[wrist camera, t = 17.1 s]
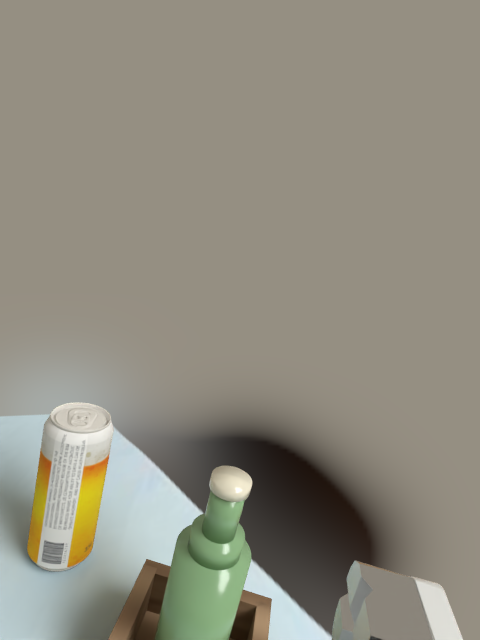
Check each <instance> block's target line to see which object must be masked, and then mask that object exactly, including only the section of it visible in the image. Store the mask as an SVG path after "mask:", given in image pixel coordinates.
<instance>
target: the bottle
mask: <svg viewBox="0 0 480 640" xmlns="http://www.w3.org/2000/svg"><path fill="white" fill-rule="evenodd" d="M209 486H210V489H211V492H210V496H209V500H208V504H207V508H206V512H205V514H202V515H200V516H198V517H197V518H196V519H195V520H194V521H193V524H192V525H190V526H188V527H186V528H185V529H184V530H183V531H182V532H181V533H180V534H179V536H178V538H177V542H176V546H175V551H174V555H173V559H172V564H171V568H170V572H169V577H168V581H167V585H166V590H165V594H164V599H163V603H162V607H161V612H160V616H159V620H158V625H157V629H156V633H155V638H154V640H229V637H230V634H231V630H232V627H233V623H234V619H235V616H236V612H237V609H238V605H239V602H240V598H241V594H242V591H243V587H244V584H245V580H246V577H247V573H248V569H249V566H250V562H251V551H250V548H249V546H248V544H247V542H246V541H245V533H244V530H243V528H242V526H241V525H240V524H239V519H240V516H241V512H242V508H243V504H244V501H245V499H246V498H247V497H248V496H249V493H250V490H251V486H252V479H251V477H250V476H249V475H248V474H247V473H246V472H245V471H243V470H241V469H239V468H236V467H232V466H220V467H217V468H215V469H214V470H213V472H212V475H211V479H210V484H209Z"/></svg>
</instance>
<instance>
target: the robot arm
mask: <svg viewBox="0 0 480 640" xmlns="http://www.w3.org/2000/svg"><path fill="white" fill-rule="evenodd" d="M347 585H348V594H346V595H345V596H343V597H342V598H340V600H339V604H338V606H337V610H336V613H335V618H334V624H333V630H332V640H463V639H462V636H461V633H460V630H459V628H458V626H457V623H456V620H455V617H454V615H453V613H452V610H451V607H450V605H449V602H448V599H447V597H446V594H445V591H444V589H443V588H442V587H441V586H440V585H439V584H438V583H434V582H430V581H427V580H423V579H419V578H416V577H411V576H410V577H408V576H405V575H401V574H398V573H395V572H391V571H388V570H385V569H381V568H378V567H374V566H371V565H368V564H365V563H361V562H358V561H354V563H353V565H352V567H351V569H350V571H349V574H348V577H347Z"/></svg>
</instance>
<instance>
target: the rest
mask: <svg viewBox="0 0 480 640" xmlns="http://www.w3.org/2000/svg"><path fill="white" fill-rule="evenodd" d="M170 568H171V567H170V566H167V565H164V564H161V563H157V562H154V561H151V560H148V559H146V562H145V564H144V566H143V568H142V570H141V572H140V574H139V576H138V578H137V580H136V582H135V584H134V587H133V589H132V591H131V593H130V595H129V597H128V599H127V601H126V603H125V605H124V607H123V609H122V612H121V614H120V616H119V618H118V620H117V622H116V624H115V626H114V628H113V630H112V632H111V634H110V637H109V639H108V640H154V638H155V633H156V629H157V625H158V620H159V616H160V612H161V607H162V603H163V599H164V594H165V590H166V585H167V581H168V577H169V572H170ZM271 601H272V599H271V598H267V597H264V596H261V595H258V594H255V593H252V592H249V591H245V590H243V591H242V594H241V598H240V602H239V605H238V609H237V612H236V616H235V619H234V623H233V627H232V630H231V634H230V637H229V640H268V633H269V622H270V612H271Z"/></svg>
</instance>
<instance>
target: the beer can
mask: <svg viewBox="0 0 480 640" xmlns="http://www.w3.org/2000/svg"><path fill="white" fill-rule="evenodd" d="M113 431H114V428H113V425H112V422H111V416H110V414H109V412H108V411H106V410H105V409H103V408H101V407H99V406H96V405H93V404H88V403H68V404H63V405H60V406H58V407H56V408H55V409H54V410H52V412H51V414H50V416H49V418H48V419H47V421H46V422H45V424H44V429H43V437H42V444H41V451H40V458H39V466H38V473H37V480H36V487H35V495H34V502H33V509H32V516H31V524H30V531H29V538H28V545H27V551H28V555H29V557H30V558H31V559H32V560H33V561H34V562H35V563H36V564H37V565H38V566H39V567H40V568H42V569H45V570H48V571H65V570H68V569H71V568H73V567H75V566H77V565H78V564H79V563H80V562H82V561H83V560H84V559H85V558H86V557H87V556H88V555H89V554H90V552H91V550H92V548H93V542H94V537H95V531H96V526H97V520H98V514H99V509H100V503H101V498H102V492H103V487H104V481H105V475H106V470H107V464H108V459H109V453H110V447H111V442H112V436H113Z"/></svg>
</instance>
